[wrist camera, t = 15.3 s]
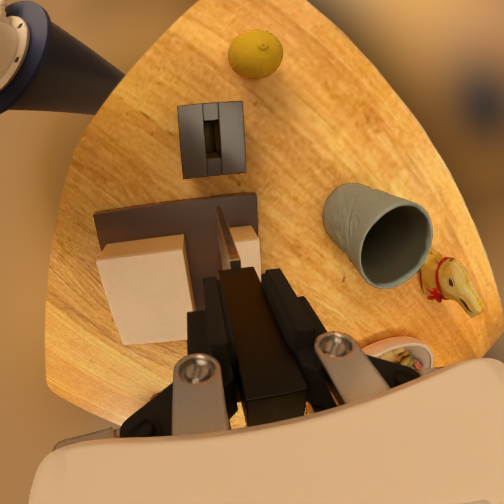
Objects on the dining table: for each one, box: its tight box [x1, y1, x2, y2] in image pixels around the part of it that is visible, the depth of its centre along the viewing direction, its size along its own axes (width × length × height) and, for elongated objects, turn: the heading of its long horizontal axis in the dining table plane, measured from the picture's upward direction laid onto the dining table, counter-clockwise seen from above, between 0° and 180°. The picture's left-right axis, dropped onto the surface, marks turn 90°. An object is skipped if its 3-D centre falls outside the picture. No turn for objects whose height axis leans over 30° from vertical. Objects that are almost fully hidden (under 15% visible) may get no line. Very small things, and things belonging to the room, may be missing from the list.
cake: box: [96, 234, 196, 345], centre depth 34 cm, size 12×10×5 cm
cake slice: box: [221, 225, 261, 282], centre depth 36 cm, size 12×4×5 cm, turn 3°
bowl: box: [307, 336, 433, 415], centre depth 52 cm, size 30×30×8 cm
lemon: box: [228, 30, 283, 79], centre depth 25 cm, size 6×6×8 cm
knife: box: [214, 206, 308, 427], centre depth 14 cm, size 3×2×16 cm, turn 2°
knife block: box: [177, 101, 246, 179], centre depth 29 cm, size 7×6×7 cm
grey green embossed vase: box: [323, 183, 433, 289], centre depth 33 cm, size 10×10×12 cm
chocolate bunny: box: [421, 248, 485, 318], centre depth 39 cm, size 7×11×15 cm, turn 26°
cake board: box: [93, 192, 258, 311], centre depth 37 cm, size 20×20×1 cm
